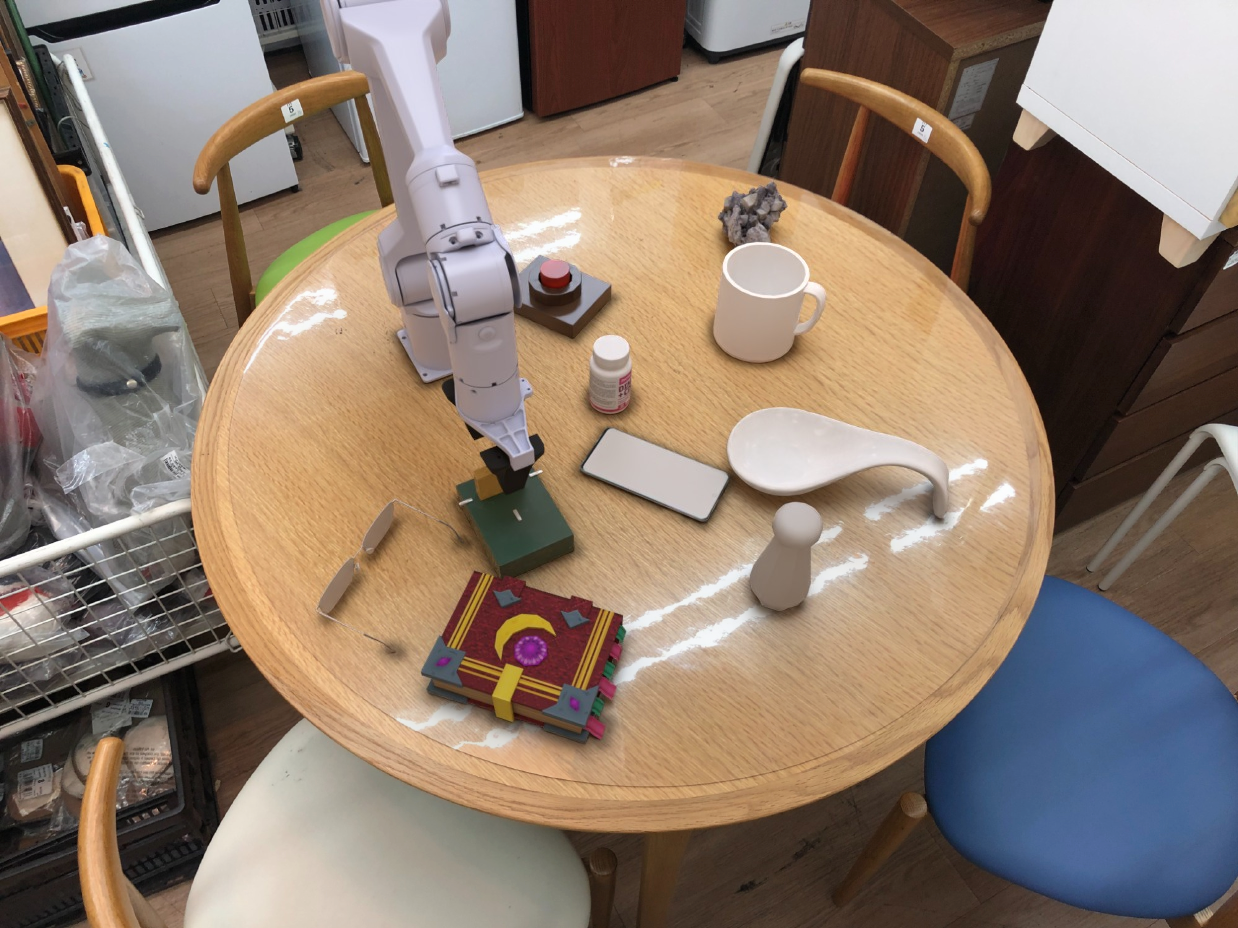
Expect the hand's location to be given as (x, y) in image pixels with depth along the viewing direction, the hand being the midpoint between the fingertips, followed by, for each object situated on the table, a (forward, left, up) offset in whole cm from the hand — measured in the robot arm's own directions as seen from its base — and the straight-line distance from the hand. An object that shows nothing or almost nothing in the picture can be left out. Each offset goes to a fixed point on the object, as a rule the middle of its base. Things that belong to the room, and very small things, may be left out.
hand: (497, 461), depth 87 cm
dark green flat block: (+2, 0, -7) cm, 8 cm away
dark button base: (-26, +19, -7) cm, 33 cm away
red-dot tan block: (0, 0, -4) cm, 4 cm away
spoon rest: (+14, +33, -7) cm, 36 cm away
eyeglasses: (+4, -13, -7) cm, 15 cm away
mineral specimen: (-25, +48, -7) cm, 54 cm away
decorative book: (+18, -5, -7) cm, 20 cm away
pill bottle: (-8, +17, -7) cm, 20 cm away
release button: (-26, +19, -4) cm, 32 cm away
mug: (-8, +39, -7) cm, 40 cm away
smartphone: (+4, +16, -7) cm, 18 cm away
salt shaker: (+22, +19, -7) cm, 30 cm away
